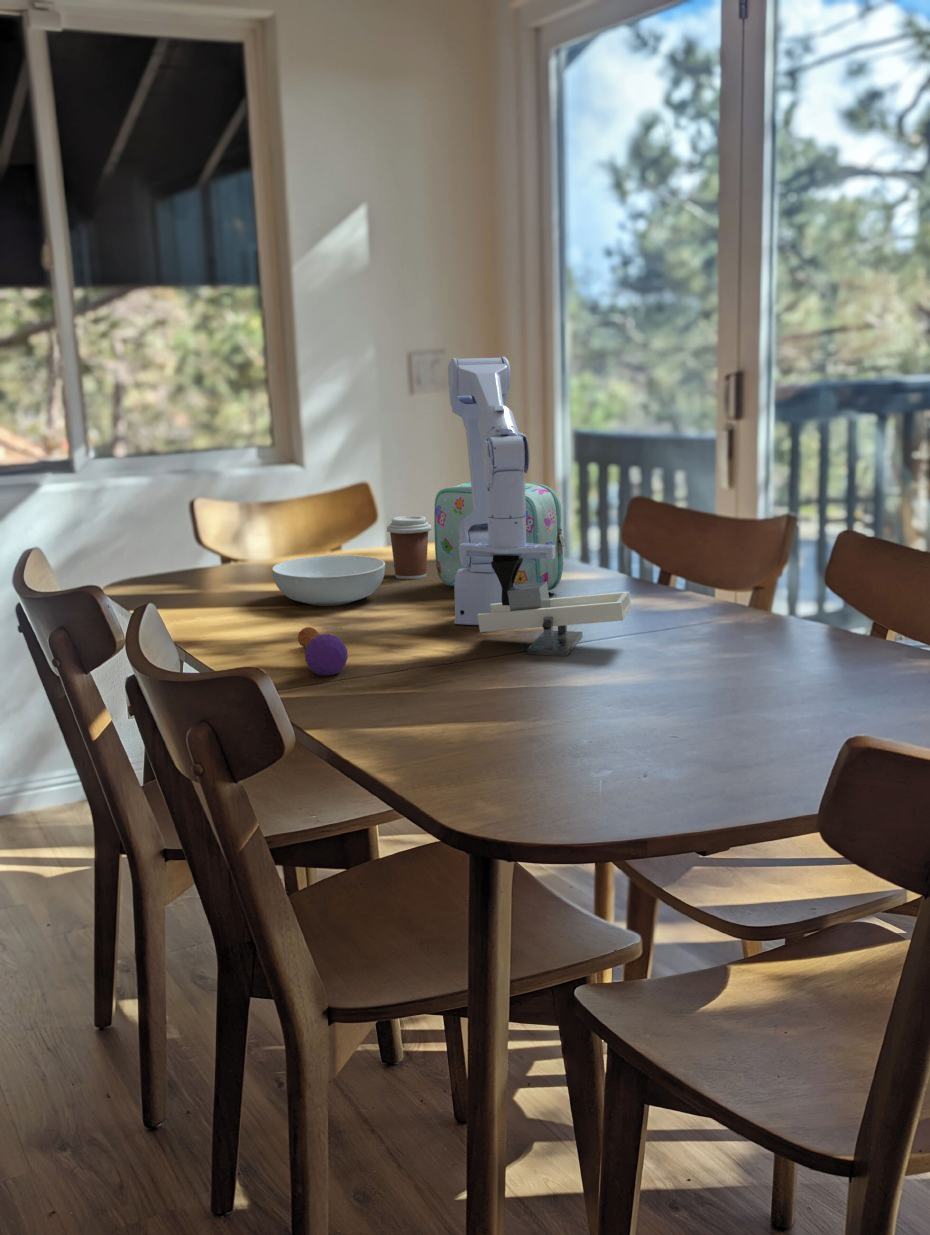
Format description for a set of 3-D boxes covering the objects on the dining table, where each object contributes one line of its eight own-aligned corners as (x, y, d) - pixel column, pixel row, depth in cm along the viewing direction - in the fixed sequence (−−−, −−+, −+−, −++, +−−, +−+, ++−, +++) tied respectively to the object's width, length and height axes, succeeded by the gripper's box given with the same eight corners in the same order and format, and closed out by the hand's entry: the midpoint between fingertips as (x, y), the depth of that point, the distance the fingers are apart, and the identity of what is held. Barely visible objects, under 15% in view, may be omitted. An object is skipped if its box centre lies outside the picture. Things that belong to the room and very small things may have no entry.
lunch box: (574, 593, 212) (574, 478, 207) (541, 603, 204) (540, 484, 199) (464, 579, 229) (461, 472, 224) (430, 587, 221) (426, 477, 216)
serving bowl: (252, 609, 206) (249, 572, 205) (309, 587, 225) (307, 553, 223) (354, 616, 198) (352, 577, 197) (405, 592, 217) (404, 557, 216)
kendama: (329, 620, 179) (353, 639, 160) (324, 658, 179) (348, 681, 160) (291, 616, 177) (311, 635, 158) (287, 654, 178) (306, 677, 158)
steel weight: (511, 619, 173) (507, 590, 172) (519, 612, 178) (515, 584, 177) (543, 617, 172) (539, 587, 171) (550, 609, 176) (546, 581, 175)
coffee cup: (379, 578, 232) (377, 519, 229) (405, 570, 239) (403, 514, 236) (417, 582, 227) (414, 522, 224) (441, 574, 234) (439, 516, 232)
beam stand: (527, 654, 170) (526, 618, 169) (545, 634, 181) (544, 601, 180) (566, 656, 168) (566, 619, 167) (582, 636, 179) (582, 602, 178)
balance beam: (480, 632, 173) (477, 614, 173) (493, 620, 181) (491, 603, 180) (623, 620, 167) (621, 602, 166) (631, 608, 174) (629, 591, 174)
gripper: (452, 519, 171) (455, 607, 174) (547, 520, 166) (548, 611, 169) (466, 512, 177) (468, 598, 180) (558, 514, 173) (558, 601, 176)
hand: (508, 604), depth 175 cm, fingers closed
